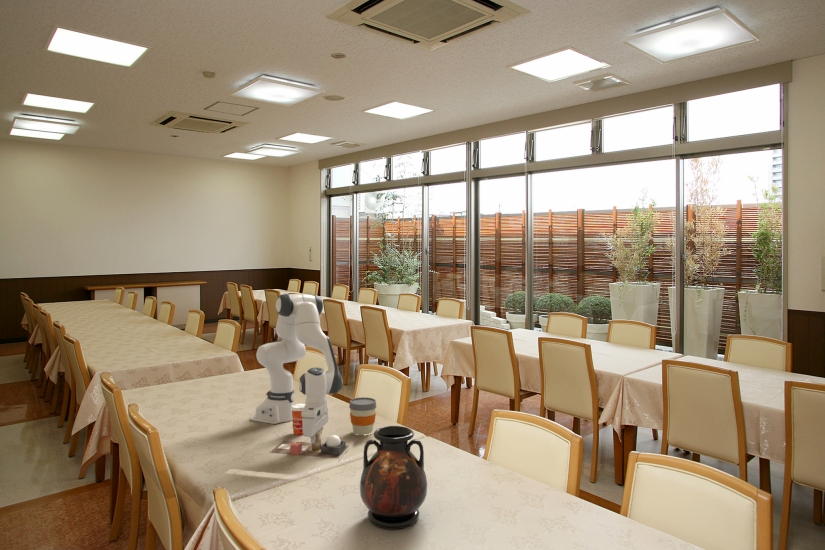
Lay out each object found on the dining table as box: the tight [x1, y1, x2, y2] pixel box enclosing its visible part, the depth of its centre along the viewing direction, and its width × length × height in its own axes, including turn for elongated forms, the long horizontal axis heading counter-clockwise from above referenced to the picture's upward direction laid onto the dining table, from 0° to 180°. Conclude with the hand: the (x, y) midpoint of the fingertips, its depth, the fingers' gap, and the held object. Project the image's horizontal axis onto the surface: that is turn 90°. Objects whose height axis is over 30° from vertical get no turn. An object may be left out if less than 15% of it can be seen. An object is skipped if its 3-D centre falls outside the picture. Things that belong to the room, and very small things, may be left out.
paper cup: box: [291, 403, 306, 436], centre depth 245 cm, size 8×8×14 cm
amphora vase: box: [359, 425, 428, 530], centre depth 170 cm, size 22×22×28 cm
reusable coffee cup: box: [348, 396, 377, 435], centre depth 249 cm, size 13×13×15 cm
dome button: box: [325, 434, 342, 448], centre depth 223 cm, size 6×6×6 cm
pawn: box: [312, 429, 323, 450], centre depth 225 cm, size 4×4×9 cm
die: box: [289, 441, 302, 456], centre depth 221 cm, size 4×4×4 cm
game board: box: [268, 440, 349, 463], centre depth 225 cm, size 30×14×4 cm, turn 79°
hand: (316, 440), depth 224 cm, fingers open, 5 cm apart
